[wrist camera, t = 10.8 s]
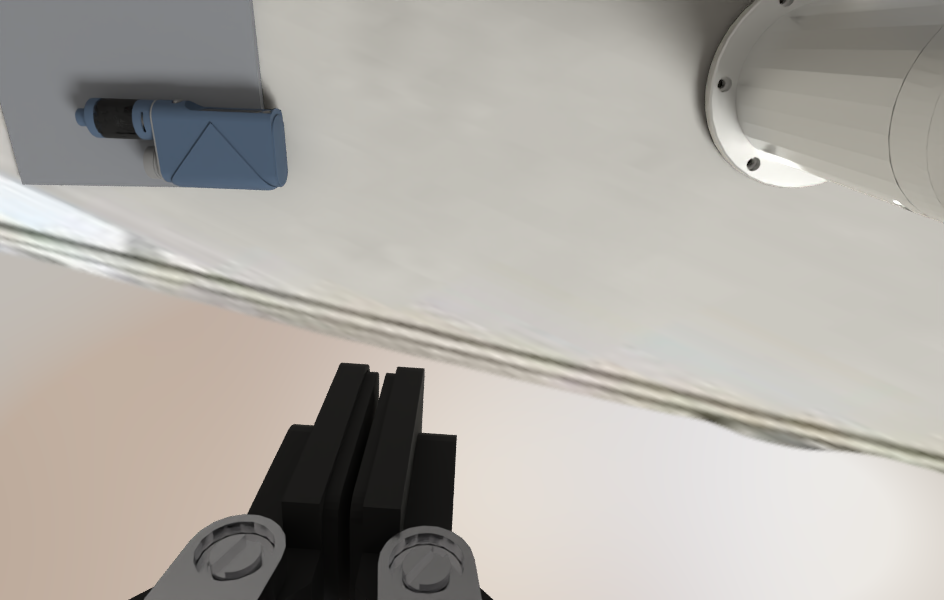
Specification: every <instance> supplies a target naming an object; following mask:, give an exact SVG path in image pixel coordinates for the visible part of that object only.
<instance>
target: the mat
mask: <svg viewBox="0 0 944 600" xmlns="http://www.w3.org/2000/svg"><path fill="white" fill-rule="evenodd" d="M90 98H105V99H107V98H115V99H140V100H156V99H161V100H176V99H182V100H183V101H192V102H194V103H196V104H198V105H200V106H203V107H219V108H244V109H264V103H263V94H262V85H261V76H260V67H259V58H258V49H257V40H256V31H255V22H254V12H253V3H252V0H0V104H1V108H2V111H3V115H4V119H5V122H6V126H7V129H8V133H9V137H10V140H11V144H12V148H13V151H14V155H15V159H16V162H17V166H18V170H19V173H20V177H21V181H22V184H30V185H89V186H148V187H180V186H177V185H174V184H173V183H167V182H165V181H164V180H163V179H152V178H150V177H149V176H148V175H147V174H146V172H145V169H144V165H143V155H144V151H145V149H146V148H147V147H149V146H155V145H154V140H141V139H116V138H97V137H95V136H93V135H92V134H91V133H90V132H89V130H88V128H87V126H80V125H78V123H77V122H76V119H75V112H76V110H77V109H78V108H84V107H85V104H86V102H87V101H88V100H89V99H90Z"/></svg>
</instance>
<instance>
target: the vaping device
mask: <svg viewBox="0 0 944 600" xmlns="http://www.w3.org/2000/svg"><path fill="white" fill-rule="evenodd" d="M75 119H76V122H77V123H78V125H80V126H87V128H88V130H89V132H90V133H91V134H92V135H93V136H95V137H97V138H116V139H141V140H154V145H155V146H149V147H147V148H146V149H145V151H144V155H143V165H144V169H145V172H146V174H147V175H148V176H149V177H150V178H152V179H163V180H164V181H165V182H167V183H173V184H174V185H177V186H180V187H197V188H222V189H248V190H273V189H275V188H277V187H282V186H283V185H284V184H285V183H286V180H287V175H288V167H287V156H286V144H285V132H284V123H283V119H282V113H281V110H279V109H277V108H274V109H273V110H269V109H244V108H219V107H203V106H200V105H198V104H196V103H194V102H192V101H183V100H182V99H176V100H161V99H156V100H140V99H115V98H107V99H105V98H90V99H89V100H88V101H87V102H86V104H85V107H84V108H78V109H77V110H76V112H75Z"/></svg>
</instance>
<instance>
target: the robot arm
mask: <svg viewBox="0 0 944 600" xmlns="http://www.w3.org/2000/svg"><path fill="white" fill-rule="evenodd" d="M719 80H722V81H723V84H722V86H721V87H720V88H718V86H717V84H718V82H719ZM705 112H706V118H707V124H708V128H709V131H710V133H711V136H712V139H713V141H714V144H715V145H716V147H717V148H718V150H719V151H720V153H721V155H722V156H723V158H724V159H725V160H726V161H727V162H728V163H729V164H731V165H732V166H733V167H734V168H735V169H736V170H737V171H739V172H741V173H742V174H744V175H746V176H747V177H749V178H751V179H753V180H756V181H758V182H760V183H763V184H766V185H770V186H775V187H779V188H803V187H809V186H815V185H819V184H822V183H825V182H828V181H831V182H834V183H836V184H839V185H842V186H844V187H847V188H850V189H852V190H855V191H858V192H860V193H863V194H866V195H868V196H871V197H874V198H877V199H879V200H882V201H885V202H887V203H890V204H893V205H895V206H898V207H901V208H903V209H906V210H909V211H911V212H914V213H917V214H919V215H922V216H925V217H928V218H930V219H933V220H936V221H939V222H941V223H944V0H783V1H782V3H781V4H780V3H779V0H755V1H754V2H753V3H752V4H751V5H750V6H748V7H747V8H746V9H745V10H744V11H743V12H742V13H741V15H740V16H739V17H738V18H737V19H736V21H735V22H734V23H733V24H732V25H731V27H730V28H729V29H728V31H727V33H726V34H725V36H724V38H723V40H722V41H721V43H720V45H719V46H718V48H717V51H716V53H715V56H714V58H713V61H712V64H711V66H710V69H709V74H708V79H707V84H706V89H705ZM750 159H751V163H750V164H749V165H747V162H748V160H750ZM423 393H424V369H423V368H408V367H397V370H396V374H393V373H386V376H385V379H384V383H383V387H382V390H381V394H380V398H379V373H378V372H370V369H369V365H366V364H352V363H341V364H340V365H339V368H338V370H337V372H336V375H335V377H334V379H333V382H332V384H331V386H330V389H329V391H328V393H327V396H326V398H325V401H324V403H323V405H322V407H321V410H320V412H319V415H318V417H317V419H316V422H315V424H314V426H313V425H298V424H294V425H292V426H291V427H290V428H289V430H288V432H287V434H286V436H285V438H284V440H283V442H282V444H281V446H280V448H279V450H278V452H277V454H276V456H275V458H274V460H273V462H272V464H271V466H270V469H269V471H268V473H267V475H266V477H265V479H264V481H263V483H262V485H261V487H260V489H259V491H258V493H257V495H256V497H255V499H254V501H253V503H252V506H251V508H250V510H249V512H248V514H243V515H237V516H230V517H227V518H224V519H221V520H218V521H216V522H213V523H212V524H210V525H209V526H207V527H205V528H204V529H202V530H201V531H200V532H198V533H197V534H196V535H195V536H194V537H193V538H192V539H191V540H190V541H189V543H188V544H187V545H186V546H185V548H184V549H183V550H182V551H181V553H180V554H179V555H178V557H177V558H176V559H175V560H174V562H173V563H172V564H171V565H170V567H169V568H168V569H167V571H166V572H165V573H164V574H163V576H162V577H161V578H160V580H159V581H158V582H157V583H156V585H155V586H154V587H153V588H151V589H149V590H147V591H145V592H143V593H141V594H139V595H137V596H135V597H133V598H131V599H129V600H493V599H492V598H491V597H490V596H489V595H487V594H486V593H485V592H484V591H483V590H482V589H481V588H480V586H479V580H478V575H477V569H476V564H475V559H474V556H473V554H472V551H471V549H470V547H469V546H468V544H467V543H466V542H465V541H464V540H463V539H462V538H461V537H459V536H458V535H456V534H455V533H453V532H452V515H453V496H454V478H455V457H456V440H457V435H445V434H430V433H422V413H423Z"/></svg>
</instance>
